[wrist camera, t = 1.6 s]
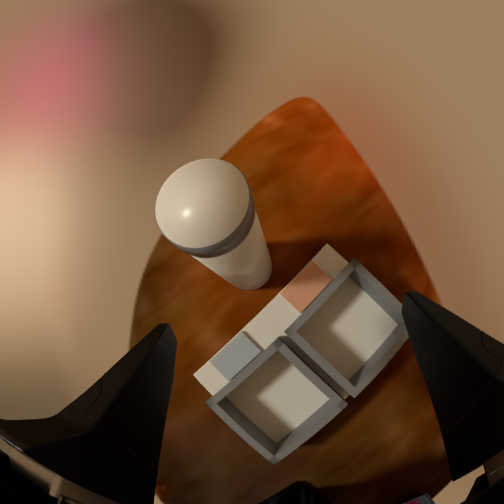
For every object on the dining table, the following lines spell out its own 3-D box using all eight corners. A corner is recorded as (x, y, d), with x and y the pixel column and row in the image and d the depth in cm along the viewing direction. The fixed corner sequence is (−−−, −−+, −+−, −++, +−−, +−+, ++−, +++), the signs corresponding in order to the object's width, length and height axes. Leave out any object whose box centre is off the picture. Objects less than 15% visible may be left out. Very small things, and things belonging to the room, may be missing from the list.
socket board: (277, 450, 18) (275, 469, 15) (197, 372, 21) (181, 380, 18) (406, 324, 20) (424, 324, 16) (325, 246, 23) (331, 233, 19)
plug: (248, 301, 22) (194, 270, 10) (215, 267, 24) (138, 205, 11) (283, 266, 23) (272, 195, 10) (249, 234, 24) (206, 143, 11)
